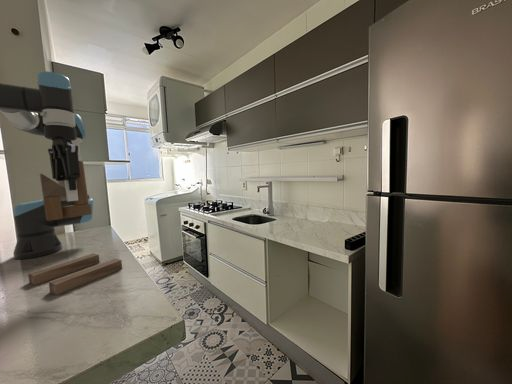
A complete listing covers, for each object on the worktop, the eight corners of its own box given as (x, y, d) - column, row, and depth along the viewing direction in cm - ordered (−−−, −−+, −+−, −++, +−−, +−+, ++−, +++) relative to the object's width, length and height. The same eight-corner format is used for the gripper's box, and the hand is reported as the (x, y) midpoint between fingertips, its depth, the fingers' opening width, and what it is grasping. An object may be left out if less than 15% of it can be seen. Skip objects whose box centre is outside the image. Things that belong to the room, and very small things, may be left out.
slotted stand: (29, 282, 67) (28, 273, 67) (93, 260, 83) (92, 253, 83) (56, 295, 59) (55, 284, 59) (122, 268, 75) (121, 259, 75)
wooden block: (46, 220, 67) (37, 161, 65) (89, 213, 75) (82, 161, 73) (47, 221, 64) (38, 160, 63) (92, 214, 72) (84, 160, 71)
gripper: (31, 128, 68) (41, 201, 70) (58, 119, 60) (67, 202, 62) (61, 131, 75) (69, 199, 77) (88, 124, 67) (96, 199, 69)
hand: (68, 200), depth 69 cm, fingers closed on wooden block, 4 cm apart
